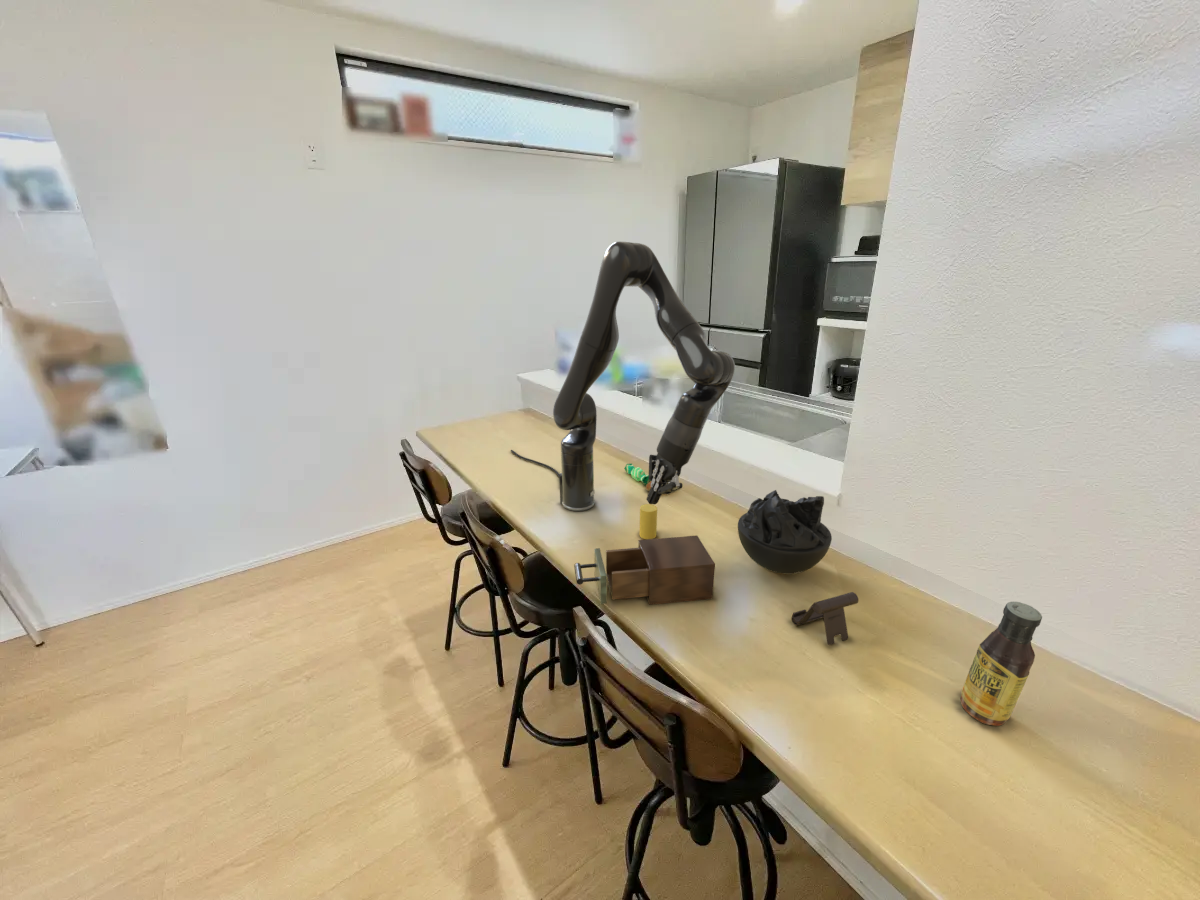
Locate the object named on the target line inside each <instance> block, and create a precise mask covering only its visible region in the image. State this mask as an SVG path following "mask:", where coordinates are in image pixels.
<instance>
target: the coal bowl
mask: <svg viewBox="0 0 1200 900" xmlns="http://www.w3.org/2000/svg"><path fill="white" fill-rule="evenodd" d="M824 505H825V497H824V496H823V495H817V496H808V497H805V496H803V497H801V498H798V499H797V500H796V501H794V500H793V501H792V500H789V499H786V498H782V497H780V495H779V493H778V491H777V489H775V490H772V491H771V492H769V493H767V494H766V495H765V496H764V497H763V499H762V498H760V497H759V498H757V499H755V500H753V501H752V502H751V503H750V505H749V506H750V507H749V508H748V510H747V512H745V513H743V514H742V515H741V516H740V517H739V518H738V521H737V535H738V539H739V541H740V544H741V546H742V547H743V548H742V549H744V551H745V553H746V554H747V556H748V557H749V558H750V559H751V560H752V561H753V562H755V563H756V565H758V566H760V567H762V568H763V569H765V570H767V571H770V572H773V573H777V574H783V575H791V574H792V575H793V574H799V573H802V572H805V571H807V570H810V569H811V568H813V567H815V566H816V565H817V564H818V563H820V562H821V561H822V560H823V559H824V557H825V555H826V554H827V553H828V551H829V549H830V547H831V545H832V540H833V538H832V537H833V536H832V533H831V531H830V529H829V528H828V527H827V526H826V525H825V524H824V523H822V522H821V521H822V515H823V508H824Z"/></svg>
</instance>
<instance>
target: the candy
mask: <svg viewBox="0 0 1200 900" xmlns="http://www.w3.org/2000/svg"><path fill="white" fill-rule="evenodd" d="M624 471H625V472H626V473H627V474H628V475H630V476H631V478H632V479H633V480H635V481H636V482H641V483H642V484H643V485H644V486H645V487H646V485H647V484H648V483H649V482H650V481H651V480H649V474H646V471H645V470H643V469H642V468H641V467H639V466H634V464H633V463H626V464H625V466H624Z"/></svg>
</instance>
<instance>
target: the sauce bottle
mask: <svg viewBox="0 0 1200 900" xmlns="http://www.w3.org/2000/svg"><path fill="white" fill-rule="evenodd" d="M1002 612H1003V615H1002V618H1001V620H1000V623H999V624H998V626H997V627H996V628H995V629H994V630H993V631H992V632H991V633H989V634H988V636H986V637H985V639H983V640H982V642H980V643H979V646H978V648H977V650H976V653H975V656H974V658H973V661H972V663H971V665H970V668H969V671H968V673H967V676H966V679H965V682H964V683H963V686H962V689H961V695H960V704H961V707H962V709H963V710H964V711H965V712H966V713H968V714H969V716H971V717H972V718H974V719H975V720H977V721H978V722H980V723H982V724H984V725H990V726H993V727H995V726H996V727H999V726H1002V725H1004V724H1005V723H1006V722H1007V721H1008V720H1009V719H1010V718H1011V715H1012V713H1013V711H1014V709H1015V707H1016V704H1017V702H1018V700H1019V698H1020V696H1021V693H1022V691H1023V689H1024V686H1025V684H1026V682H1027V680H1028V677H1029V676H1030V671H1031V668H1032V666H1033V664H1034V662H1035V659H1036V654H1035V651H1034V649H1033V645H1032V640H1033V638H1034V637H1033V636H1034V634H1035V632H1036V629H1037V628H1038V627H1039V626H1040V625H1041V622H1042V620H1043V616H1042V613H1040V611H1038V609H1036V608H1035V607H1033V606H1032V605H1029V604H1027V603H1023V602H1021V601H1009V602H1007V603H1006V604H1005V606H1004V608H1003V610H1002Z"/></svg>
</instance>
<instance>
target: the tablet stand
mask: <svg viewBox="0 0 1200 900" xmlns="http://www.w3.org/2000/svg"><path fill="white" fill-rule="evenodd" d="M858 603H859V596H858V595H857V593H856V592H854V591H850V592H847V593H844V594H840V595H836V596H833V597H830V598H829V597H828V598H826V599H822V600H819V601H816V602H813V604H811V606H810V607H809V608H808V610H807V609H802V610H798V611H794V612H792V614H791V618H790V619H791V622H792V624H793V625H794V626H801V625H804V624H806V623H810V622H813V621H816V620H820V619H823V622H824V630H825V636H826V642H827V645H829V646H832V645H834V644H835V637H837V636H840V639H841V641H842V642H844V641H847V640H848V639H849V633H848V627H847V620H846V613H845V608H847V607H849V606H852V605H857V604H858Z"/></svg>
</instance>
